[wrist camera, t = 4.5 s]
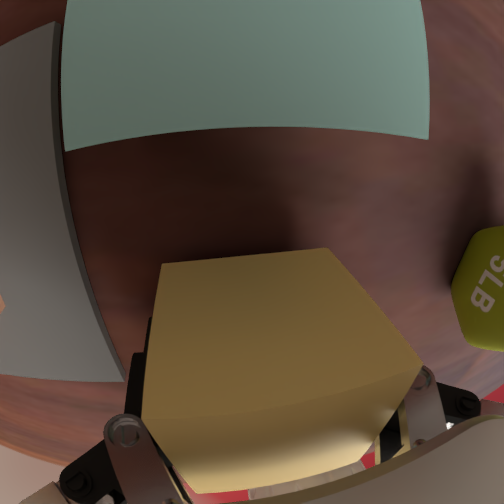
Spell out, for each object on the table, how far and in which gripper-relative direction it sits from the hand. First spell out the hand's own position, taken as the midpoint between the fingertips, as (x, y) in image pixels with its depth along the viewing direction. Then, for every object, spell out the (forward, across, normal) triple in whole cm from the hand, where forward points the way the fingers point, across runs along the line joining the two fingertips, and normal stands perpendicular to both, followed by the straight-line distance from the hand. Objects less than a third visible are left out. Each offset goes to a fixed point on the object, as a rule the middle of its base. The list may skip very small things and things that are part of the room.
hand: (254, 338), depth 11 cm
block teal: (+2, 0, -10) cm, 11 cm away
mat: (+2, +14, -4) cm, 15 cm away
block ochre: (+1, 0, 0) cm, 1 cm away
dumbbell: (+3, -21, +2) cm, 21 cm away
